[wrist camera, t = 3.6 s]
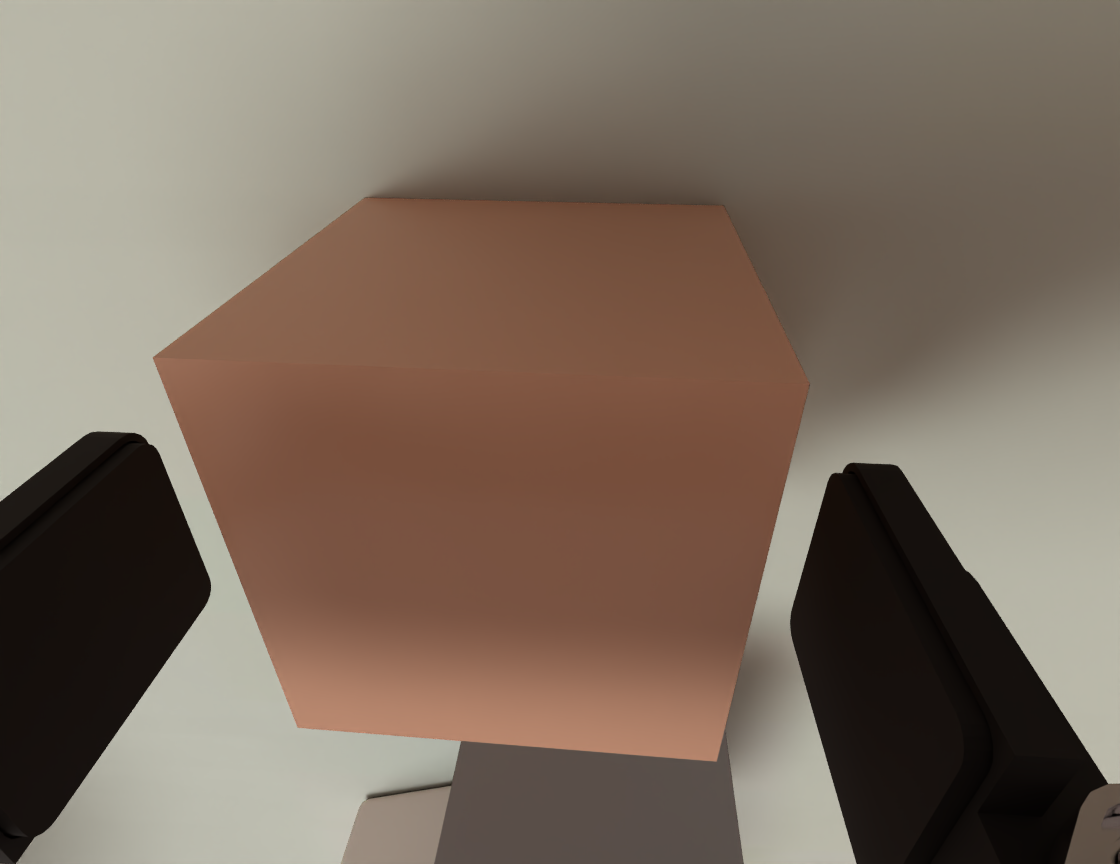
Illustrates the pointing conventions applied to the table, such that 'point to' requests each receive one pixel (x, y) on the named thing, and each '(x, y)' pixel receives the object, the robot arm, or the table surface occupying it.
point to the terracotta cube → (500, 468)
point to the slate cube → (588, 808)
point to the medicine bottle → (398, 828)
